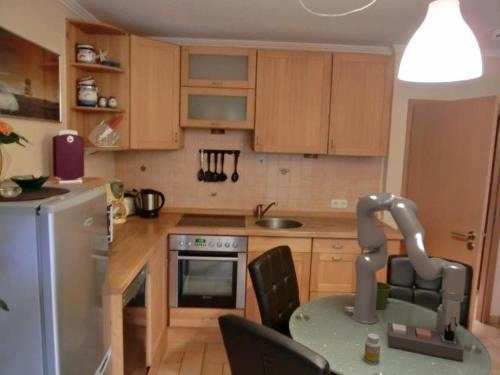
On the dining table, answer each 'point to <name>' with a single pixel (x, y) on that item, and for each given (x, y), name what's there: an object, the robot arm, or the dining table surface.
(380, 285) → the plant pot
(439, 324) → the can
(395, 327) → the cream key
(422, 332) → the terracotta key
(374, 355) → the supplement bottle
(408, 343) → the key panel
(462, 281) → the robot arm
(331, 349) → the dining table surface
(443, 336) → the slate key
